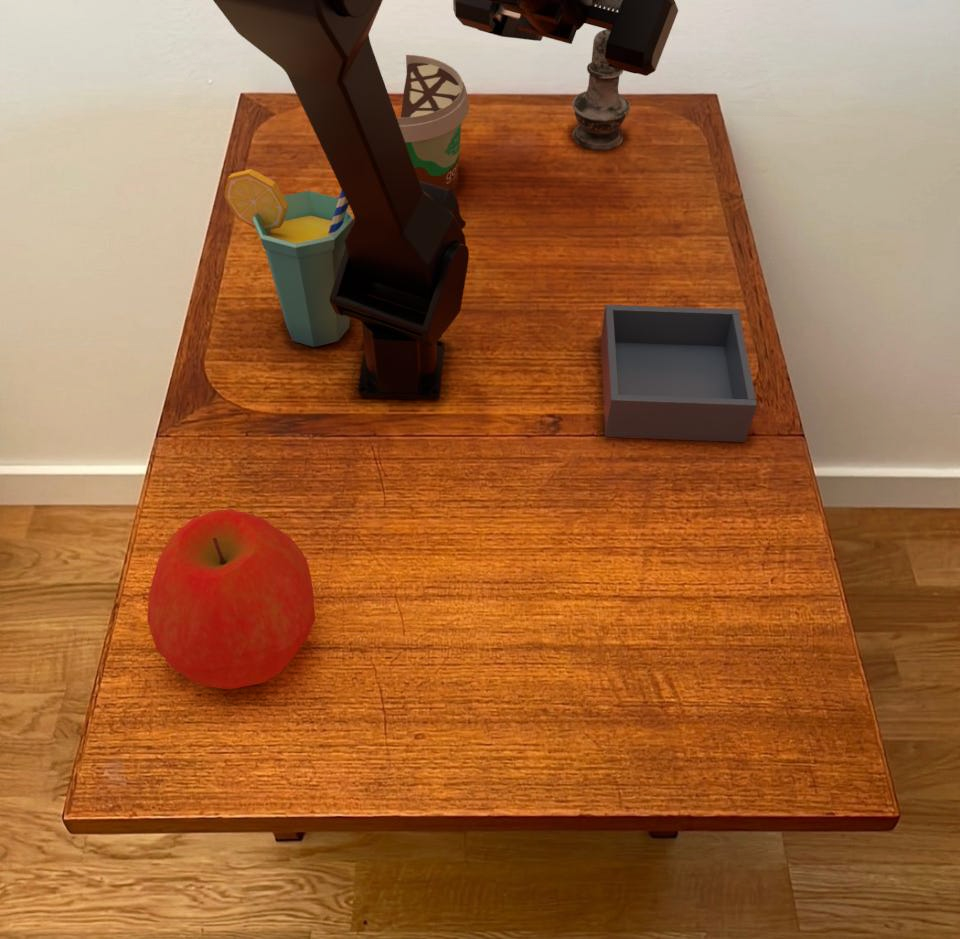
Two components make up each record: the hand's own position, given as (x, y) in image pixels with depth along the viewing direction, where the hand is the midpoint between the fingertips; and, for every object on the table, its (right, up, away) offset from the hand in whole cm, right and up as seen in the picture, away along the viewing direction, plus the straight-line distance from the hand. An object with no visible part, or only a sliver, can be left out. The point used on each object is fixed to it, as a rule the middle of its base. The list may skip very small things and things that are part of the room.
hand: (586, 47), depth 92 cm
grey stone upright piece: (+3, -4, +12) cm, 13 cm away
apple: (-25, -50, -27) cm, 62 cm away
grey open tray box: (+5, -33, -12) cm, 35 cm away
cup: (-22, -27, -8) cm, 36 cm away
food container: (-14, -11, +7) cm, 19 cm away
